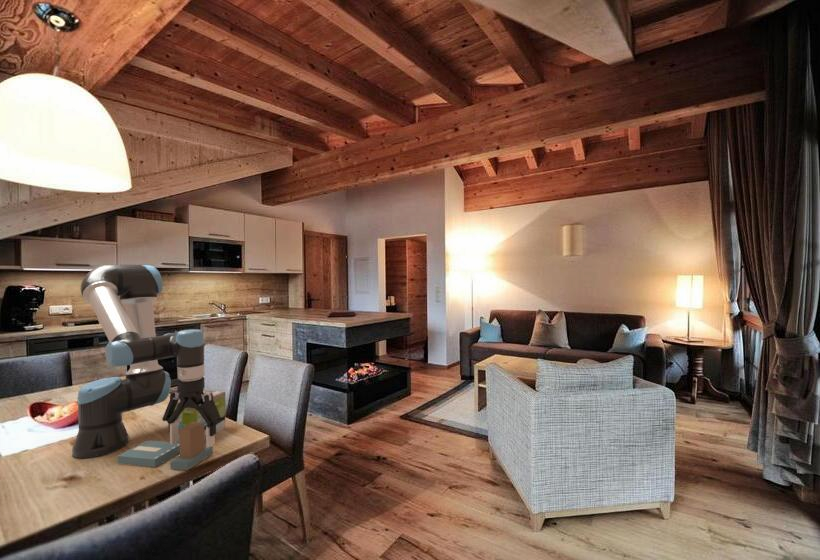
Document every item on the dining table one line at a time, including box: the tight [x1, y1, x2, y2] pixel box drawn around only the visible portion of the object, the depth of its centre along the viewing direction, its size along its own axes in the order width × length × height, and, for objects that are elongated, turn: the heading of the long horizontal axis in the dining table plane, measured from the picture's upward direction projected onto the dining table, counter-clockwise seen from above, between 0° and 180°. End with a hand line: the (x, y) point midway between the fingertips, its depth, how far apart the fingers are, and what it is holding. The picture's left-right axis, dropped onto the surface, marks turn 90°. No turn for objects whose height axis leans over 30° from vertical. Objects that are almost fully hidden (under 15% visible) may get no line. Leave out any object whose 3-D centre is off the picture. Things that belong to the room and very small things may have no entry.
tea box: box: [174, 389, 226, 443], centre depth 138 cm, size 15×10×15 cm
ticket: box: [116, 439, 180, 468], centre depth 122 cm, size 14×11×3 cm
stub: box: [169, 422, 214, 471], centre depth 119 cm, size 6×11×11 cm, turn 169°
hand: (192, 444), depth 119 cm, fingers open, 13 cm apart
